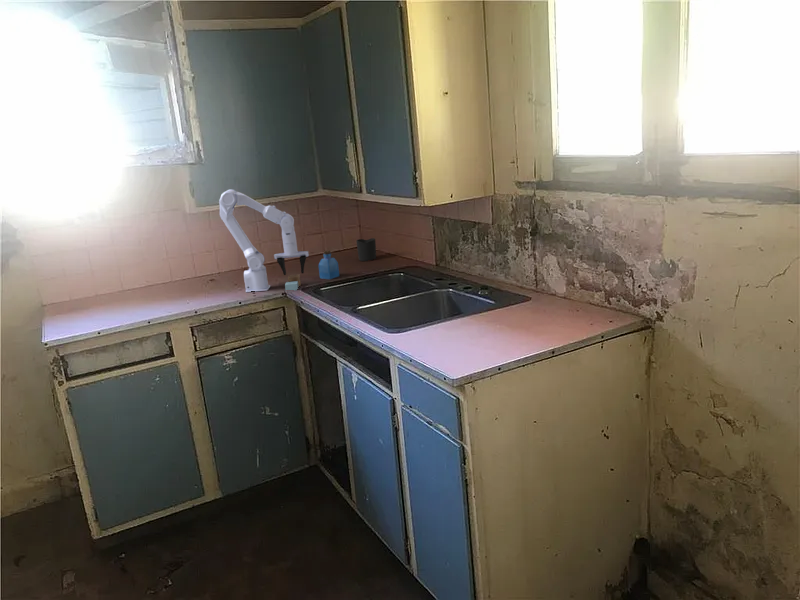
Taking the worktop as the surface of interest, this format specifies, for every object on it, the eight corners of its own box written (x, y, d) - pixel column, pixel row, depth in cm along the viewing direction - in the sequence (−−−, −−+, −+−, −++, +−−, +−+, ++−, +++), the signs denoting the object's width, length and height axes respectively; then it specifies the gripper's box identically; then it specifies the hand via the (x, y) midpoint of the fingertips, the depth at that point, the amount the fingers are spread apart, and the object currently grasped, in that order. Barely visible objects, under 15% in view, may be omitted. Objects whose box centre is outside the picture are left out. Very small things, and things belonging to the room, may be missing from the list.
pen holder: (368, 256, 333) (366, 237, 330) (380, 258, 326) (379, 238, 324) (354, 260, 326) (352, 240, 324) (367, 262, 320) (365, 242, 317)
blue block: (285, 291, 276) (284, 284, 275) (287, 288, 280) (286, 282, 280) (297, 290, 276) (296, 283, 275) (298, 287, 281) (297, 281, 280)
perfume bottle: (330, 279, 291) (327, 252, 287) (320, 278, 294) (317, 252, 291) (339, 276, 295) (336, 250, 292) (329, 275, 299) (326, 249, 296)
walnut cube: (289, 287, 282) (287, 277, 281) (290, 285, 286) (289, 275, 285) (299, 286, 282) (298, 276, 280) (301, 284, 286) (299, 274, 285)
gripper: (307, 239, 283) (311, 270, 286) (274, 242, 283) (278, 273, 286) (305, 242, 276) (309, 273, 279) (271, 245, 276) (276, 276, 280)
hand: (293, 273), depth 282 cm, fingers open, 7 cm apart
